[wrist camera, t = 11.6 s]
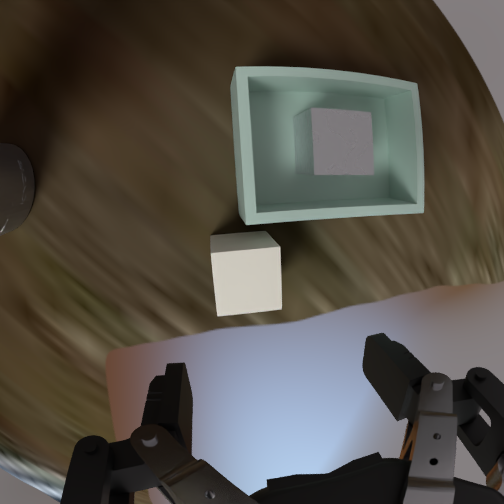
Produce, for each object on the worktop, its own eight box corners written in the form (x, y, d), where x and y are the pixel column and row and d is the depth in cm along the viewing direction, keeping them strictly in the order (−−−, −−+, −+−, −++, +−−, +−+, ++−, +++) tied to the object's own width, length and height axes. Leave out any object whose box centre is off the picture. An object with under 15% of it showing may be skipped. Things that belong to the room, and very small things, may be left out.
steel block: (292, 118, 25) (310, 107, 20) (344, 120, 25) (371, 112, 20) (295, 173, 26) (314, 175, 21) (347, 173, 27) (373, 175, 22)
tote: (238, 214, 27) (246, 225, 22) (230, 86, 24) (235, 66, 19) (391, 204, 29) (423, 212, 24) (385, 93, 26) (417, 83, 20)
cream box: (215, 287, 29) (217, 316, 23) (210, 235, 27) (210, 253, 22) (267, 282, 29) (281, 309, 24) (265, 230, 28) (280, 246, 22)
